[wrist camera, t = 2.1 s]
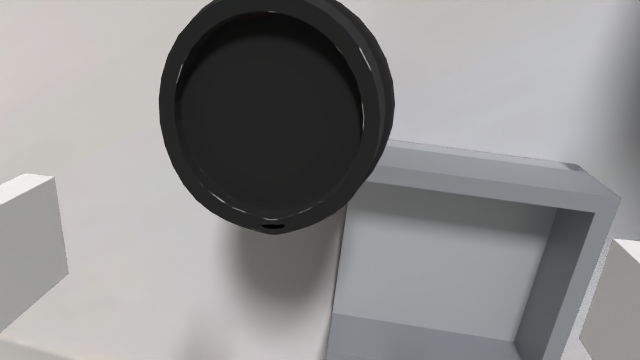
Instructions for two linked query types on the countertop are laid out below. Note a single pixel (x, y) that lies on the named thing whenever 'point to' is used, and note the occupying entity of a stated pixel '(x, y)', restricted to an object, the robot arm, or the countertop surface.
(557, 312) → the dock
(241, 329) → the countertop surface
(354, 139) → the coffee cup
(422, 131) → the countertop surface
